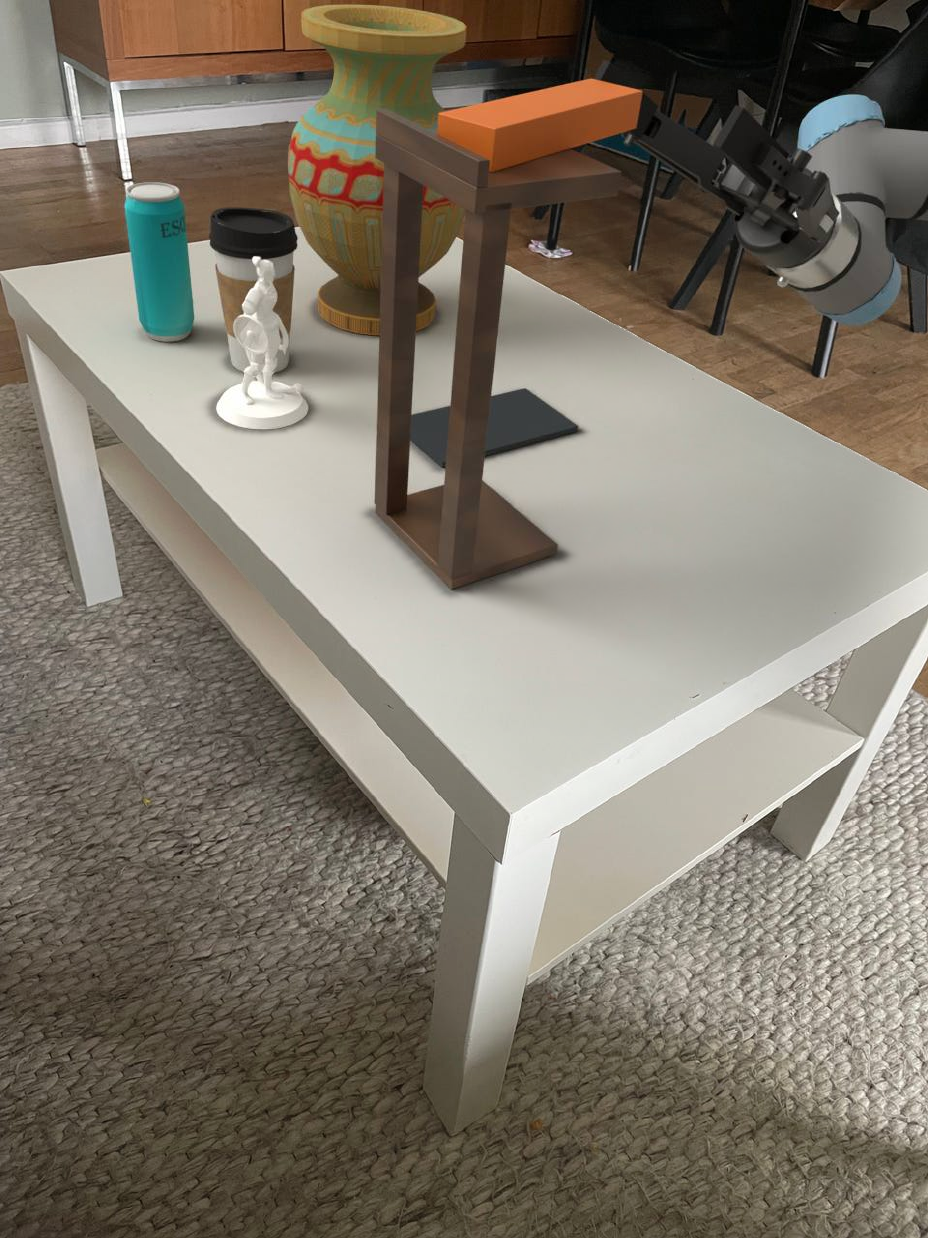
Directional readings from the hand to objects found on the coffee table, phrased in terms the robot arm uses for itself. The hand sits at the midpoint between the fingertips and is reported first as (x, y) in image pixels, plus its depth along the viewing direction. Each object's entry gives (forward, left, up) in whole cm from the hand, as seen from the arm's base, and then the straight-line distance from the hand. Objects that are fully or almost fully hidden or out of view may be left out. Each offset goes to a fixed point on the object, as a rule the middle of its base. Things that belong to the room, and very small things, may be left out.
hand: (658, 100), depth 70 cm
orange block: (+5, +7, -2) cm, 9 cm away
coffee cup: (+39, -5, -33) cm, 51 cm away
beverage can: (+51, -5, -33) cm, 61 cm away
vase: (+36, -24, -33) cm, 54 cm away
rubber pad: (+13, -6, -32) cm, 35 cm away
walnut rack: (+7, +12, -32) cm, 35 cm away
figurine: (+33, +3, -33) cm, 46 cm away
